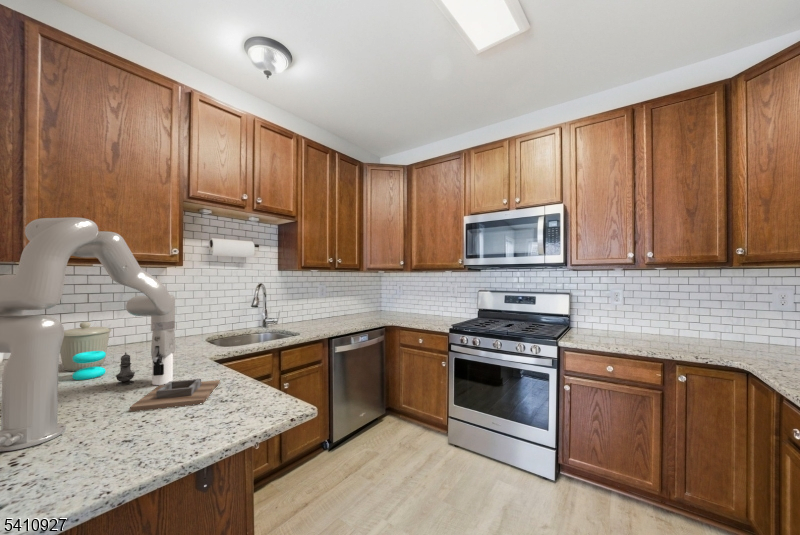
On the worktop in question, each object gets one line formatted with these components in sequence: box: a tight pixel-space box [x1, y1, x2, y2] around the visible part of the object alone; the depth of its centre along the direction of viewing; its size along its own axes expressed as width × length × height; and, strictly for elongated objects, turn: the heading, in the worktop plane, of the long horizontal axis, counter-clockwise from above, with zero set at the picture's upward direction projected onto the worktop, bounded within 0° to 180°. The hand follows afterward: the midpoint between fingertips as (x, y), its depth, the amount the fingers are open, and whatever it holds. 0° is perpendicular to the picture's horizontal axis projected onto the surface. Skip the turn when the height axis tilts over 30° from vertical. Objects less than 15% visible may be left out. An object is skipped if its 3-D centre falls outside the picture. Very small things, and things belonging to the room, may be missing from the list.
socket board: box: [129, 378, 221, 413], centre depth 110 cm, size 20×20×4 cm
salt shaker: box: [115, 352, 136, 387], centre depth 124 cm, size 6×6×12 cm
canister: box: [59, 321, 112, 372], centre depth 146 cm, size 18×18×21 cm
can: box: [151, 353, 174, 386], centre depth 124 cm, size 6×6×12 cm
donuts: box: [71, 351, 107, 381], centre depth 132 cm, size 10×10×10 cm
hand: (162, 372), depth 124 cm, fingers closed on can, 6 cm apart
